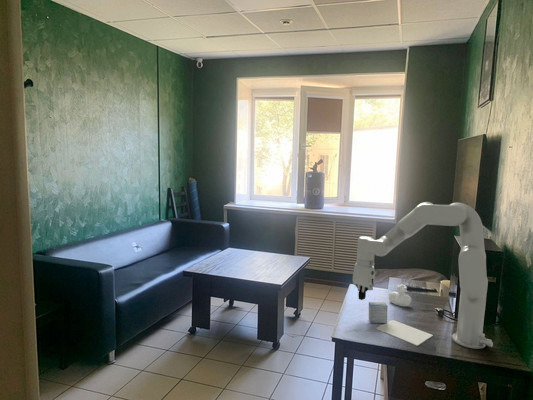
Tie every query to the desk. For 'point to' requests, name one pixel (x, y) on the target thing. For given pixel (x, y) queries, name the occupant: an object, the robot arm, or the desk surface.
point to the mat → (404, 332)
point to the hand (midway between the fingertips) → (361, 298)
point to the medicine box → (378, 312)
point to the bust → (400, 296)
